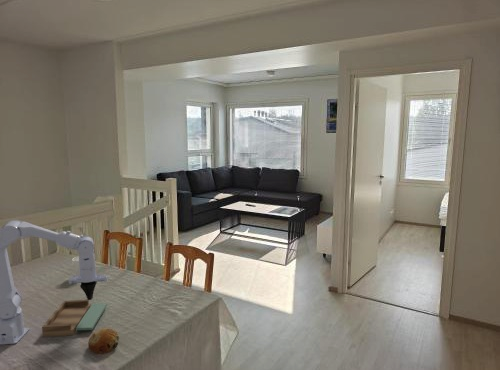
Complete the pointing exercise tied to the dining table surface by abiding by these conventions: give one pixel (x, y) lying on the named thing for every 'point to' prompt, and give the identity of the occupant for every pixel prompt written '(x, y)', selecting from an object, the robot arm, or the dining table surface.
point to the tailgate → (91, 316)
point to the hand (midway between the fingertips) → (90, 298)
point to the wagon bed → (66, 318)
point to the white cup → (76, 266)
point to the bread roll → (103, 341)
